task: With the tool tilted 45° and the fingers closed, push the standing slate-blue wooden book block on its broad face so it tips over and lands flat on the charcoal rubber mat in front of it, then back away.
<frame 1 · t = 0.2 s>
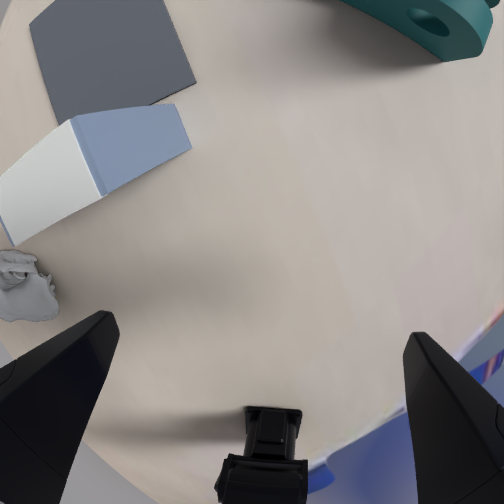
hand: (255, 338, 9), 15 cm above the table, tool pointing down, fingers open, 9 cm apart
skull: (29, 268, 29), on the table
mat: (98, 43, 18), on the table
book block: (137, 147, 21), on the table
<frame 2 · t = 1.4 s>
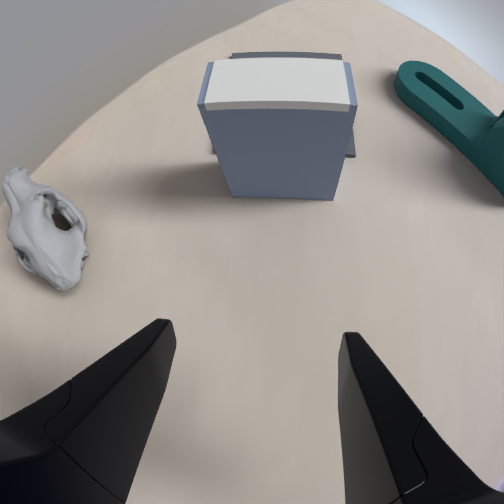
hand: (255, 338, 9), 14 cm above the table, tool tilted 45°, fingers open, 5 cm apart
bracket: (462, 130, 25), on the table
skull: (65, 237, 26), on the table
mat: (286, 96, 28), on the table
book block: (283, 178, 25), on the table
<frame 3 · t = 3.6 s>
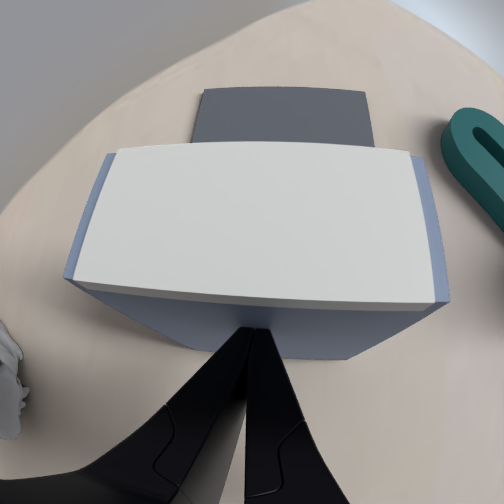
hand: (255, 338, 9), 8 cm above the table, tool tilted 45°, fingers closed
skull: (4, 357, 18), on the table
mat: (281, 167, 19), on the table
book block: (271, 323, 16), on the table, tilted 8°
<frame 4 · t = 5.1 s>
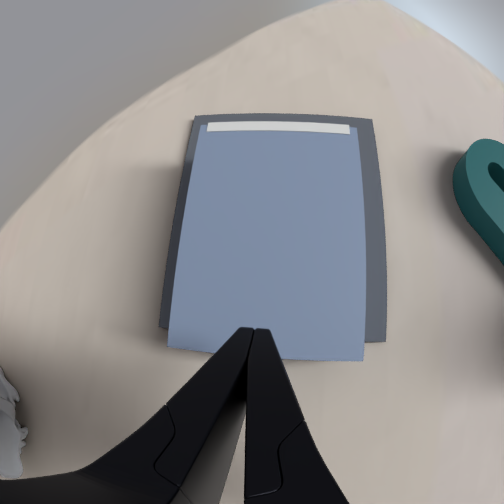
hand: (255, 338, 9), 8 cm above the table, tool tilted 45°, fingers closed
skull: (2, 395, 17), on the table
mat: (278, 211, 18), on the table
book block: (265, 355, 14), point 2 cm above the table, tilted 90°, touching mat
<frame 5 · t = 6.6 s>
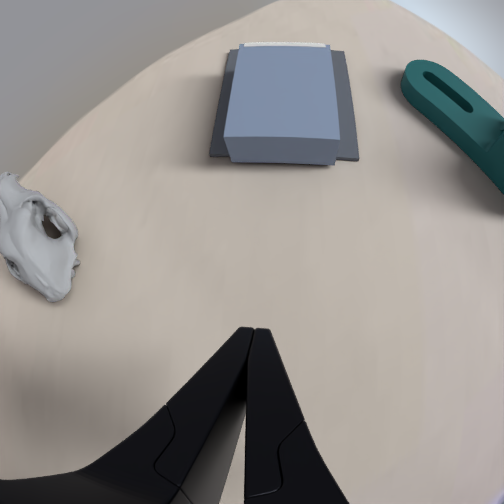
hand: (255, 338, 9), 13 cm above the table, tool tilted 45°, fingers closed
bracket: (471, 134, 24), on the table
skull: (57, 243, 25), on the table
mat: (286, 95, 26), on the table
book block: (282, 150, 22), point 2 cm above the table, tilted 90°, touching mat
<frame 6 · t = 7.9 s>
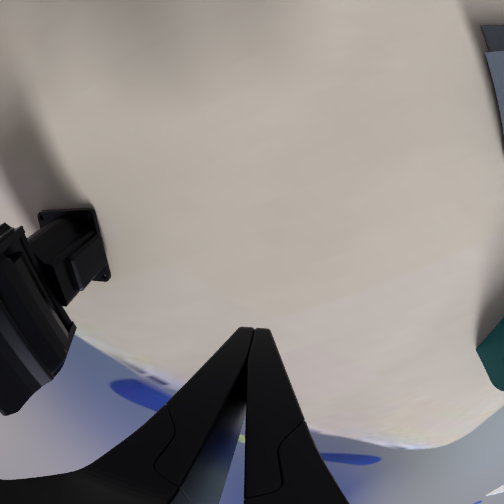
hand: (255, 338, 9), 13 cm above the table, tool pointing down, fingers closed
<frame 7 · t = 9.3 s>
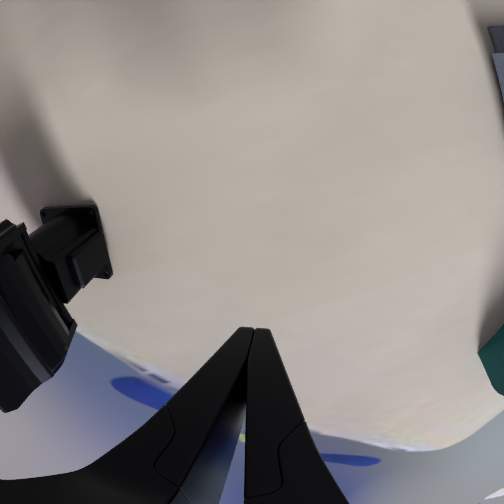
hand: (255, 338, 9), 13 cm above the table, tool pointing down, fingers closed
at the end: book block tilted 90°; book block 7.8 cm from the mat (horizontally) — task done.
